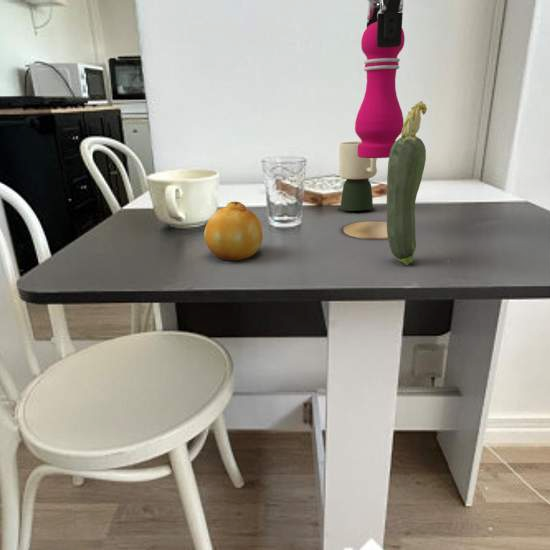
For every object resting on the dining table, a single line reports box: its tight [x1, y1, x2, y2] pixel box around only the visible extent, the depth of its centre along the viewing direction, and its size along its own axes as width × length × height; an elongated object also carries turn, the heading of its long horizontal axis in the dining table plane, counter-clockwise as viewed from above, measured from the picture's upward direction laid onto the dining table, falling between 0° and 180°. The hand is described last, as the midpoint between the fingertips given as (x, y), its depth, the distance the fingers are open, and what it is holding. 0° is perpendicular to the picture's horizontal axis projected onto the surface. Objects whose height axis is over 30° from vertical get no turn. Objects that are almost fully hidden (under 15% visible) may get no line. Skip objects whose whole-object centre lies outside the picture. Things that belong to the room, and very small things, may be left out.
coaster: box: [343, 220, 388, 240], centre depth 72 cm, size 10×10×1 cm
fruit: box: [203, 200, 264, 261], centre depth 62 cm, size 8×8×8 cm
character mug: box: [338, 140, 378, 213], centre depth 84 cm, size 11×7×13 cm, turn 24°
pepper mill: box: [354, 10, 405, 159], centre depth 64 cm, size 7×7×20 cm
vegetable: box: [386, 100, 428, 266], centre depth 55 cm, size 4×4×20 cm
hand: (382, 48), depth 63 cm, fingers closed on pepper mill, 6 cm apart
